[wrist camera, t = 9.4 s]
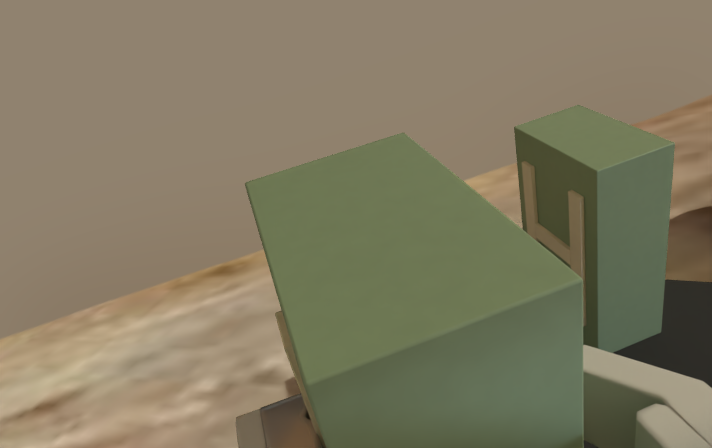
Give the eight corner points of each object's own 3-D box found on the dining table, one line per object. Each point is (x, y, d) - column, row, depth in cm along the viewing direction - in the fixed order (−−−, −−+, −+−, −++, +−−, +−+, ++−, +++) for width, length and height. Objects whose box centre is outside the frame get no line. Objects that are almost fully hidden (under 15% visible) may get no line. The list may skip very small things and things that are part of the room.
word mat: (298, 492, 24) (294, 484, 24) (410, 271, 36) (409, 263, 36) (1011, 695, 14) (1020, 685, 14) (842, 299, 26) (845, 290, 26)
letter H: (594, 360, 26) (592, 172, 21) (524, 291, 31) (509, 128, 26) (661, 332, 26) (675, 142, 21) (582, 269, 31) (578, 104, 26)
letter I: (421, 739, 11) (285, 391, 6) (343, 485, 16) (234, 184, 11) (585, 659, 11) (585, 278, 6) (458, 438, 17) (403, 130, 12)
